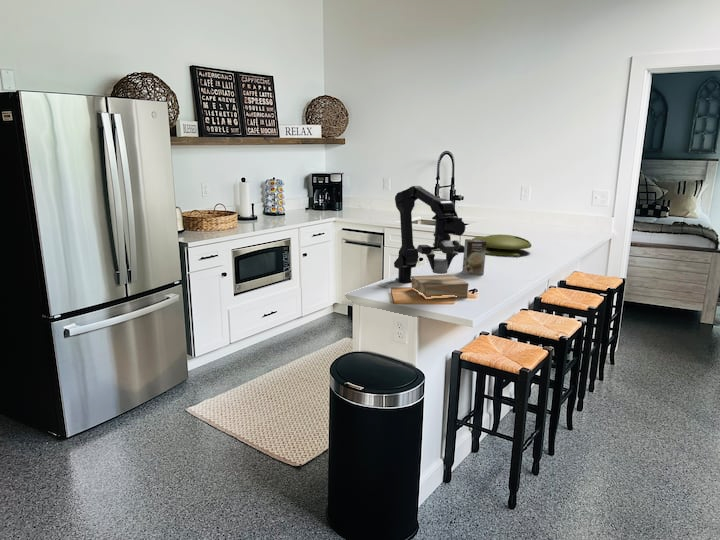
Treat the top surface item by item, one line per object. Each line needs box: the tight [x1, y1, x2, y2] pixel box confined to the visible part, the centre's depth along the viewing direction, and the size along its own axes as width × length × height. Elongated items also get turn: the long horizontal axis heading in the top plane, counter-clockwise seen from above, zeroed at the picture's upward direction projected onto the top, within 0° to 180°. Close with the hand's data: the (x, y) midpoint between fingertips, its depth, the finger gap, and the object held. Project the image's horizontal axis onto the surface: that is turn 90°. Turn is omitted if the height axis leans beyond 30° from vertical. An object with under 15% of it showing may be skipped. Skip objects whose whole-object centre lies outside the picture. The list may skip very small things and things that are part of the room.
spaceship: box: [472, 234, 532, 258], centre depth 311 cm, size 35×31×10 cm
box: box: [411, 278, 469, 299], centre depth 219 cm, size 16×18×5 cm
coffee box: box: [462, 238, 486, 276], centre depth 254 cm, size 9×6×16 cm
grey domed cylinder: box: [431, 258, 449, 275], centre depth 216 cm, size 6×6×5 cm
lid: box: [411, 273, 469, 287], centre depth 218 cm, size 16×18×1 cm
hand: (439, 269), depth 217 cm, fingers closed on grey domed cylinder, 6 cm apart
